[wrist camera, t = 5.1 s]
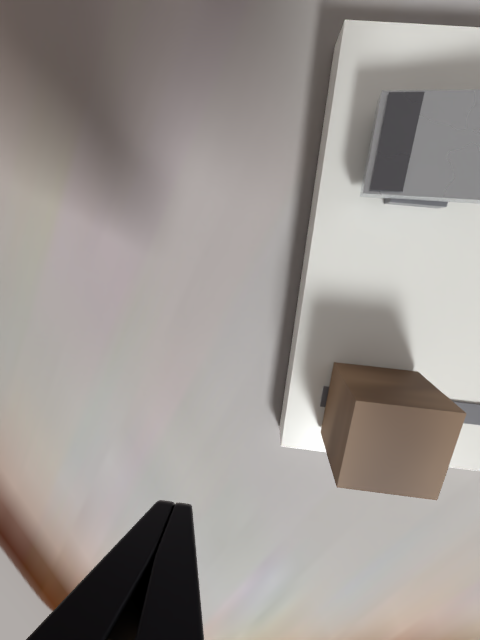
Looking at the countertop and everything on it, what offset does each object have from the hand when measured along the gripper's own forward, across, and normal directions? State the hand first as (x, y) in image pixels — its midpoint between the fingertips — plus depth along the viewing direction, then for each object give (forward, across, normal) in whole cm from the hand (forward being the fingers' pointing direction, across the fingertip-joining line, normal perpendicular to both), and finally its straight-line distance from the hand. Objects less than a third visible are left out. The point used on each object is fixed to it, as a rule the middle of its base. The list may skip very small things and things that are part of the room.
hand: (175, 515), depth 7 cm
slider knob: (+7, -7, 0) cm, 10 cm away
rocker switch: (+6, -7, -10) cm, 13 cm away
